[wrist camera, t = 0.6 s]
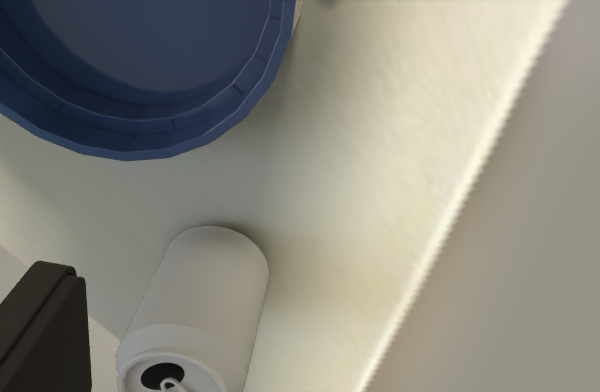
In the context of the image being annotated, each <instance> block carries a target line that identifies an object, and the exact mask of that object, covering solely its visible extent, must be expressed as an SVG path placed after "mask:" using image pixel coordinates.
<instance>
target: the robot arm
mask: <svg viewBox="0 0 600 392" xmlns="http://www.w3.org/2000/svg"><path fill="white" fill-rule="evenodd" d="M91 388H92V379H91V362H90V346H89V330H88V314H87V298H86V283H85V279H84V278H83V277H78V276H77V275H76V270H75V269H74V267H71V266H66V265H61V264H55V263H50V262H44V261H37V262H35V263H34V264H33V265H32V266H31V267H30V268H29V270H28V271H27V272H26V273H25V275H24V276H23V277H22V278H21V279H20V281H19V282H18V283H17V284H16V286H15V287H14V288H13V289H12V290H11V292H10V293H9V294H8V295H7V297H6V298H5V299H4V300H3V302H2V303H1V304H0V392H91Z"/></svg>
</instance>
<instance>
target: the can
mask: <svg viewBox="0 0 600 392" xmlns="http://www.w3.org/2000/svg"><path fill="white" fill-rule="evenodd" d="M268 279H269V268H268V264H267V260H266V258H265V256H264V255H263V253H262V252H261V250H260V249H259V247H258V246H257V245H256V244H254V243H253V242H252V241H251V240H250V239H248V238H247V237H246V236H245V235H242V234H240V233H238V232H236V231H234V230H231V229H229V228H224V227H218V226H212V225H211V226H201V227H194V228H192V229H189V230H187V231H184V232H182V233H180V234H179V235H178V236H177V237H176V238H175V239H174V240H173V241H172V242H171V243H170V245H169V247H168V249H167V251H166V253H165V255H164V257H163V259H162V261H161V263H160V265H159V267H158V269H157V271H156V273H155V275H154V277H153V279H152V281H151V283H150V285H149V287H148V289H147V291H146V293H145V295H144V297H143V299H142V301H141V303H140V305H139V307H138V309H137V311H136V313H135V315H134V317H133V319H132V321H131V323H130V325H129V327H128V329H127V331H126V333H125V335H124V337H123V339H122V341H121V343H120V346H119V348H118V350H117V352H116V369H117V371H118V373H119V374H118V376H117V388H118V391H119V392H243V391H244V387H245V382H246V378H247V373H248V369H249V365H250V360H251V356H252V351H253V347H254V343H255V338H256V334H257V329H258V325H259V321H260V316H261V312H262V307H263V303H264V299H265V294H266V290H267V285H268Z"/></svg>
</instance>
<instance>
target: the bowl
mask: <svg viewBox="0 0 600 392" xmlns="http://www.w3.org/2000/svg"><path fill="white" fill-rule="evenodd" d="M301 7H302V0H0V113H1V114H3V115H4V116H6V117H7V118H9V119H10V120H12V121H13V122H15V123H17V124H18V125H20V126H21V127H23V128H24V129H26V130H27V131H29V132H30V133H32V134H34V135H35V136H38V137H39V138H41V139H44V140H47V141H49V142H52V143H54V144H57V145H59V146H62V147H64V148H67V149H69V150H72V151H75V152H77V153H80V154H83V155H90V156H96V157H102V158H108V159H115V160H121V161H136V160H149V159H161V158H170V157H173V156H176V155H179V154H182V153H184V152H187V151H190V150H193V149H196V148H199V147H201V146H204V145H207V144H209V143H211V142H213V141H214V140H215V139H217V138H218V137H220V136H221V135H222V134H224V133H225V132H227V131H228V130H229V129H231V128H232V127H234V126H235V125H236V124H238V123H239V122H241V121H242V120H243V119H244V118H246V116H247V115H248V114H249V113H250V111H251V110H252V109H253V108H254V106H255V105H256V104H257V102H258V101H259V100H260V99H261V97H262V96H263V95H264V93H265V92H266V91H267V90H268V88H269V87H270V86H271V85H272V83H273V81H274V79H275V77H276V74H277V72H278V69H279V67H280V64H281V62H282V59H283V57H284V54H285V52H286V49H287V47H288V44H289V42H290V39H291V37H292V34H293V32H294V29H295V27H296V24H297V22H298V19H299V17H300V13H301Z"/></svg>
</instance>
